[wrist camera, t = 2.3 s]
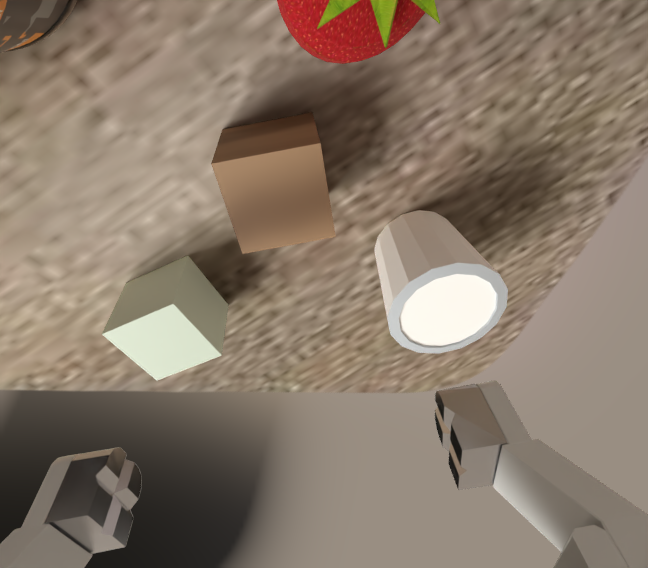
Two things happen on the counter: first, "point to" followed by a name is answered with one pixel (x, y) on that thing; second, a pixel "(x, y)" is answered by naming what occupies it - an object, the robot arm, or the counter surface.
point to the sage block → (169, 319)
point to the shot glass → (436, 284)
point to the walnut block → (274, 183)
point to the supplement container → (30, 21)
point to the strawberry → (351, 25)
